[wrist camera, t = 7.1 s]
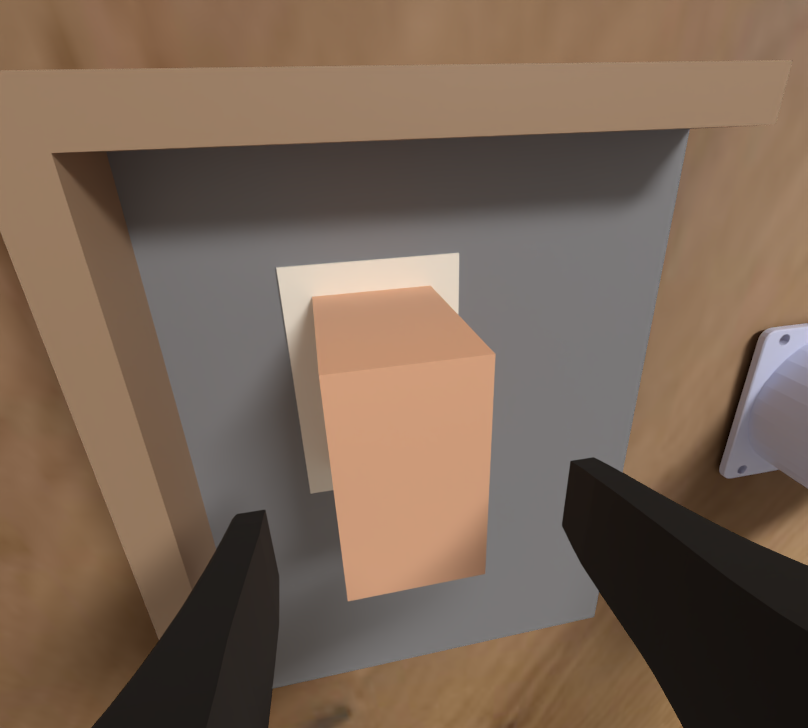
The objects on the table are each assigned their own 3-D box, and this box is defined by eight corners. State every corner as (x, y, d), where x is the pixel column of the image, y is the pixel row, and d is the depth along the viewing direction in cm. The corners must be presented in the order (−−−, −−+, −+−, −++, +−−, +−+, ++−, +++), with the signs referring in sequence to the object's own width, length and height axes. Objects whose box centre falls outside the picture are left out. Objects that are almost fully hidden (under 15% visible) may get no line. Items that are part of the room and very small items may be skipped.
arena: (681, 79, 16) (792, 60, 12) (586, 604, 27) (630, 674, 23) (39, 92, 13) (-62, 71, 9) (225, 682, 23) (212, 778, 20)
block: (433, 454, 19) (485, 574, 14) (333, 469, 18) (348, 601, 13) (430, 285, 16) (495, 353, 11) (312, 296, 15) (318, 375, 10)
